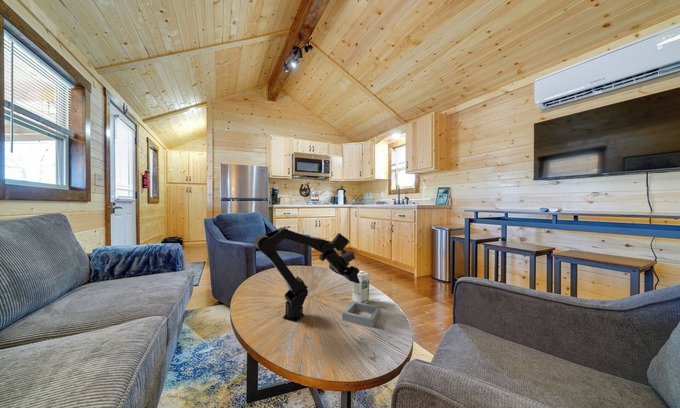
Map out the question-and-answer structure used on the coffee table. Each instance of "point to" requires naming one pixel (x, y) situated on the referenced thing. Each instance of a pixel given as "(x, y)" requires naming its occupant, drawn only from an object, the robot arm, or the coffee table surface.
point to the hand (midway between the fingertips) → (353, 279)
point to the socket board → (360, 319)
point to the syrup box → (361, 288)
